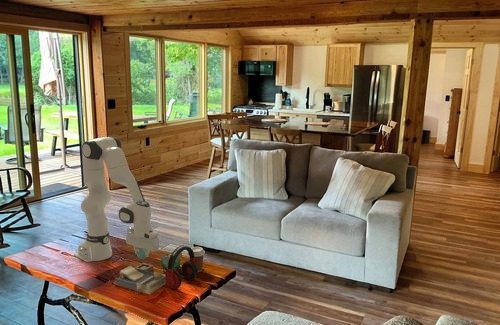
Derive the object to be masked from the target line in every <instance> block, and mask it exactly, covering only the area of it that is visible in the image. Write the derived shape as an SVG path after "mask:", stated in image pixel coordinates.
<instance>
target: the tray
mask: <svg viewBox="0 0 500 325" xmlns="http://www.w3.org/2000/svg"><path fill="white" fill-rule="evenodd" d="M153 273H154V280H152V281H151V282H149V283H147V284H146V285H144V284H140V283H137V291H136V292H139V293H143V294H144V295H145V294H146V295H149V296H150V295H152V294H153V293H155V292H156V291H157V290H159V289H160V288H162V287H163V286H165V285H167V283H166V280H165V275H166V274H165V273H164V274H163V273H161V272H157V271H153Z"/></svg>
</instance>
